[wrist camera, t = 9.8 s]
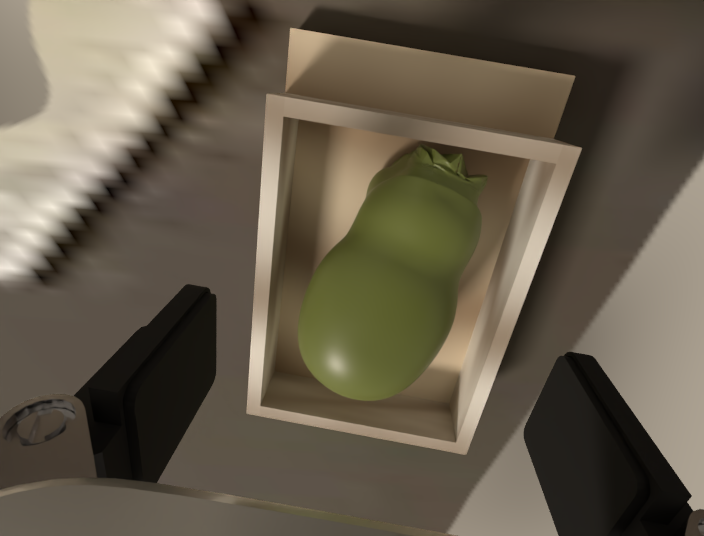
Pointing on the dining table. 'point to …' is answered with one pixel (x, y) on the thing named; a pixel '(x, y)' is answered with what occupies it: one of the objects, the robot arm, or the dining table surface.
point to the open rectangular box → (350, 192)
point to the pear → (393, 278)
